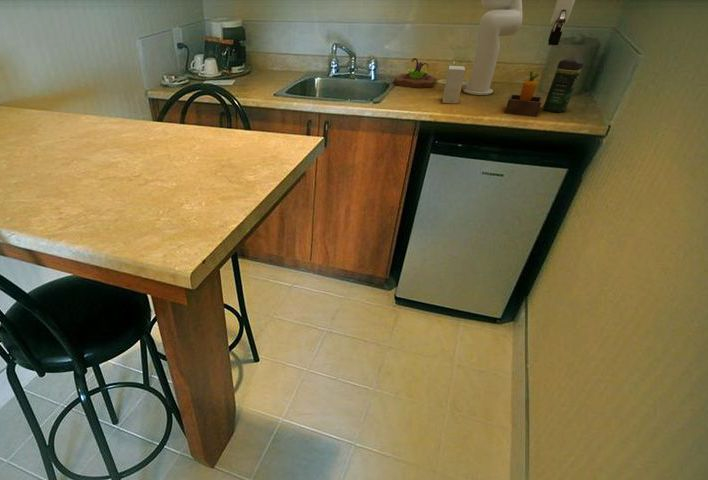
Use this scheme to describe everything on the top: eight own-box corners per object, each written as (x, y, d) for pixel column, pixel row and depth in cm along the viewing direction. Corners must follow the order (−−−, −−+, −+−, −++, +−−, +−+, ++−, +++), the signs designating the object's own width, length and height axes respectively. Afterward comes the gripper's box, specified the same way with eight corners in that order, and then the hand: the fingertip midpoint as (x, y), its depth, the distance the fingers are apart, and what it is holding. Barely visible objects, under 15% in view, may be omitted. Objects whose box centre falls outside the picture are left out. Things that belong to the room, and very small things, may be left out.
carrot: (525, 110, 162) (539, 68, 153) (530, 113, 159) (544, 71, 149) (512, 109, 163) (525, 68, 154) (517, 113, 159) (530, 71, 150)
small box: (458, 103, 171) (465, 69, 163) (442, 103, 172) (449, 68, 164) (457, 99, 177) (464, 66, 169) (442, 98, 178) (448, 65, 171)
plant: (398, 77, 213) (402, 53, 206) (437, 80, 207) (441, 56, 200) (390, 85, 199) (393, 60, 192) (431, 89, 193) (436, 62, 186)
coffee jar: (561, 113, 158) (581, 60, 147) (540, 110, 162) (557, 58, 151) (568, 109, 163) (588, 57, 152) (547, 105, 168) (565, 54, 157)
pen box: (504, 112, 160) (508, 99, 157) (507, 107, 166) (511, 94, 163) (536, 116, 155) (541, 102, 152) (537, 110, 162) (542, 97, 159)
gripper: (558, -16, 145) (541, 40, 155) (559, -15, 133) (540, 45, 143) (582, -16, 142) (563, 41, 153) (585, -15, 130) (565, 47, 140)
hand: (552, 43), depth 148 cm, fingers open, 9 cm apart
